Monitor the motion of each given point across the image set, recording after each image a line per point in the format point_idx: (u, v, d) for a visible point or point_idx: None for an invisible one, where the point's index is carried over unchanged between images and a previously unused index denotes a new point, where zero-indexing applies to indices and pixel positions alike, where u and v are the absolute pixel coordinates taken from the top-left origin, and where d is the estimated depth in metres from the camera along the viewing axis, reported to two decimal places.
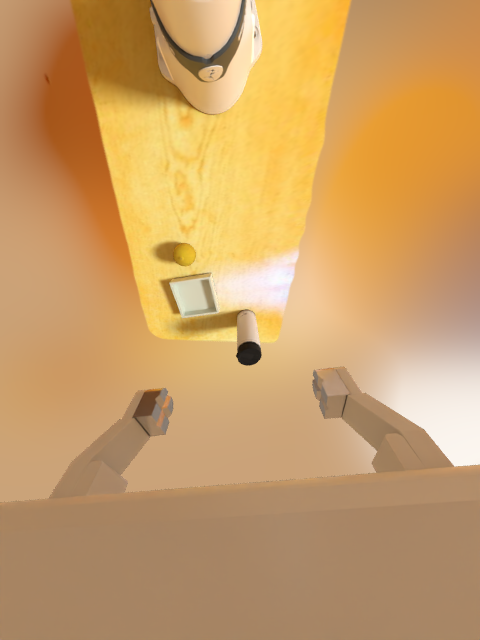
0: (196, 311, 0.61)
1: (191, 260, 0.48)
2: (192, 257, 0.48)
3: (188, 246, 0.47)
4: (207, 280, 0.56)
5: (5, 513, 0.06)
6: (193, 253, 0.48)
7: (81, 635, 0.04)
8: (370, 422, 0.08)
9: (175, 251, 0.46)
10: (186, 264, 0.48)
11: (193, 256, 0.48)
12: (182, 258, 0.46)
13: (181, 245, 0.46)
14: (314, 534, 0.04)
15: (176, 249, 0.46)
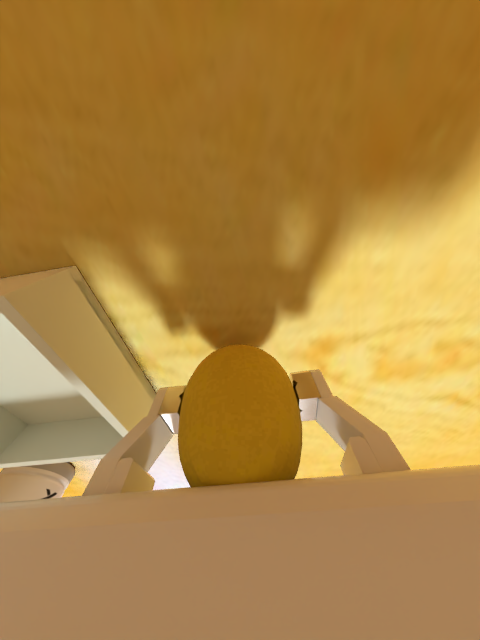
0: None
1: None
2: None
3: None
4: None
5: (5, 513, 0.06)
6: None
7: (81, 635, 0.04)
8: (339, 425, 0.08)
9: (283, 456, 0.06)
10: None
11: None
12: None
13: None
14: (314, 534, 0.04)
15: (292, 451, 0.07)
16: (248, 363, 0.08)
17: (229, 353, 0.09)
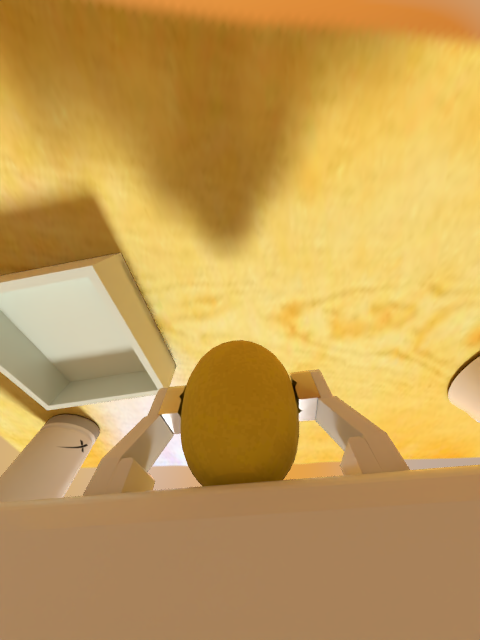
0: (10, 335, 0.16)
1: None
2: None
3: None
4: None
5: (5, 513, 0.06)
6: None
7: (81, 635, 0.04)
8: (338, 425, 0.08)
9: (280, 444, 0.07)
10: None
11: None
12: None
13: None
14: (314, 534, 0.04)
15: (290, 440, 0.07)
16: (248, 358, 0.08)
17: (229, 348, 0.09)
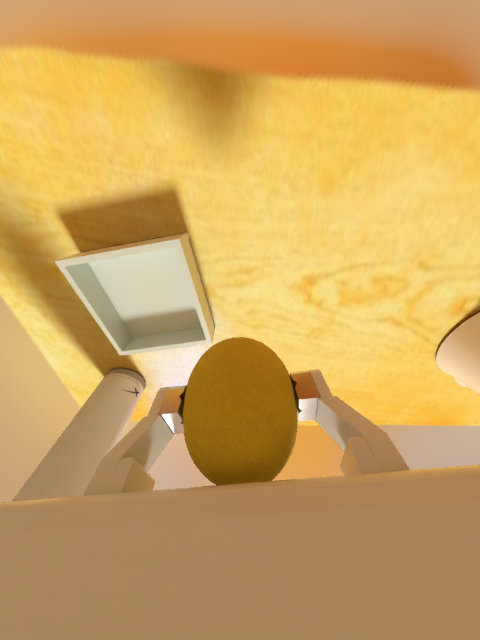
0: (100, 294, 0.21)
1: None
2: None
3: None
4: (197, 321, 0.25)
5: (5, 513, 0.06)
6: None
7: (81, 635, 0.04)
8: (338, 425, 0.08)
9: (279, 435, 0.07)
10: None
11: None
12: None
13: None
14: (314, 534, 0.04)
15: (288, 431, 0.07)
16: (248, 353, 0.09)
17: (230, 344, 0.09)
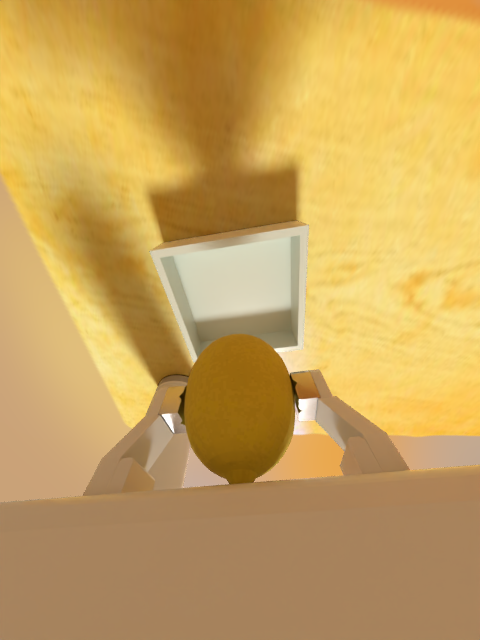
0: (181, 292, 0.18)
1: None
2: None
3: None
4: (279, 324, 0.22)
5: (5, 513, 0.06)
6: None
7: (81, 635, 0.04)
8: (338, 425, 0.08)
9: (277, 426, 0.07)
10: None
11: None
12: None
13: None
14: (314, 534, 0.04)
15: (285, 423, 0.07)
16: (247, 348, 0.09)
17: (229, 340, 0.10)
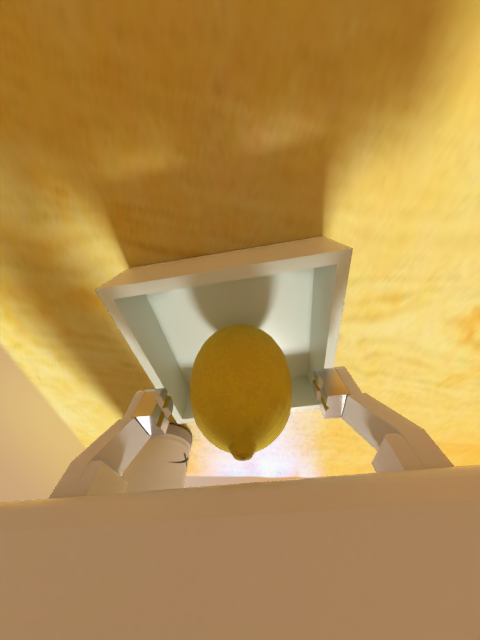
0: (157, 335, 0.13)
1: None
2: None
3: None
4: (292, 369, 0.16)
5: (5, 513, 0.06)
6: None
7: (81, 635, 0.04)
8: (370, 422, 0.08)
9: (275, 402, 0.08)
10: None
11: None
12: None
13: None
14: (314, 534, 0.04)
15: (283, 401, 0.08)
16: (247, 336, 0.10)
17: (231, 329, 0.10)
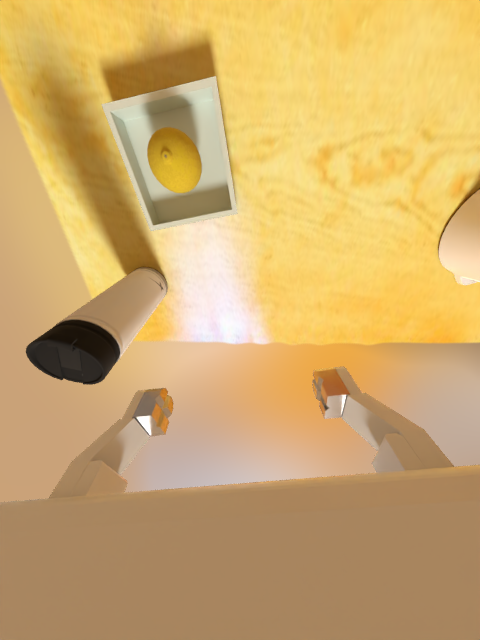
0: (135, 162, 0.23)
1: (166, 184, 0.20)
2: (173, 188, 0.21)
3: (196, 178, 0.21)
4: (221, 202, 0.26)
5: (5, 513, 0.06)
6: (183, 190, 0.21)
7: (81, 635, 0.04)
8: (370, 422, 0.08)
9: (181, 138, 0.18)
10: (153, 168, 0.19)
11: (176, 190, 0.21)
12: (166, 159, 0.18)
13: (197, 159, 0.20)
14: (314, 534, 0.04)
15: (186, 142, 0.18)
16: None
17: None
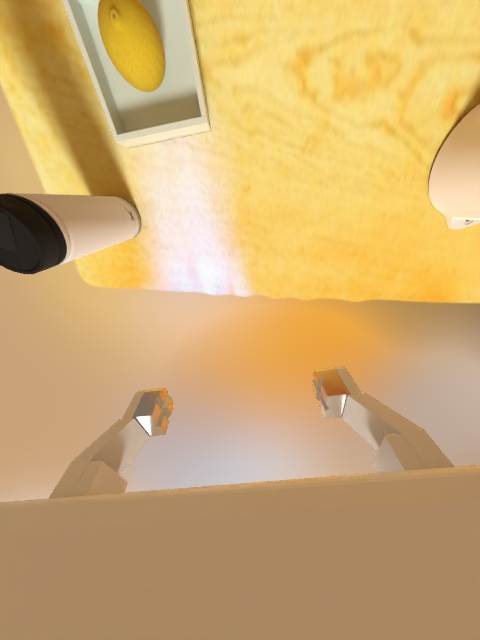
0: (96, 57, 0.22)
1: (122, 66, 0.18)
2: (131, 74, 0.19)
3: (157, 65, 0.19)
4: (192, 115, 0.25)
5: (5, 513, 0.06)
6: (143, 80, 0.20)
7: (81, 635, 0.04)
8: (370, 422, 0.08)
9: (132, 0, 0.16)
10: (105, 41, 0.17)
11: (135, 78, 0.19)
12: (115, 21, 0.16)
13: (155, 36, 0.18)
14: (314, 534, 0.04)
15: (139, 7, 0.17)
16: None
17: None
